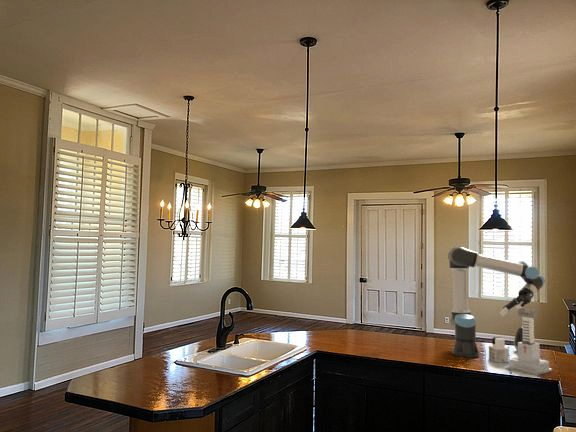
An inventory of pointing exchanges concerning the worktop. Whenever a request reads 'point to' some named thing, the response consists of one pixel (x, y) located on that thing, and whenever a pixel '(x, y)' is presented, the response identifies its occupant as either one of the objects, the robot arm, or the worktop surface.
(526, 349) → the jack stand base
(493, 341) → the container
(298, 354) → the worktop surface
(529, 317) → the jack stand column
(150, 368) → the worktop surface
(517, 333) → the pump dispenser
